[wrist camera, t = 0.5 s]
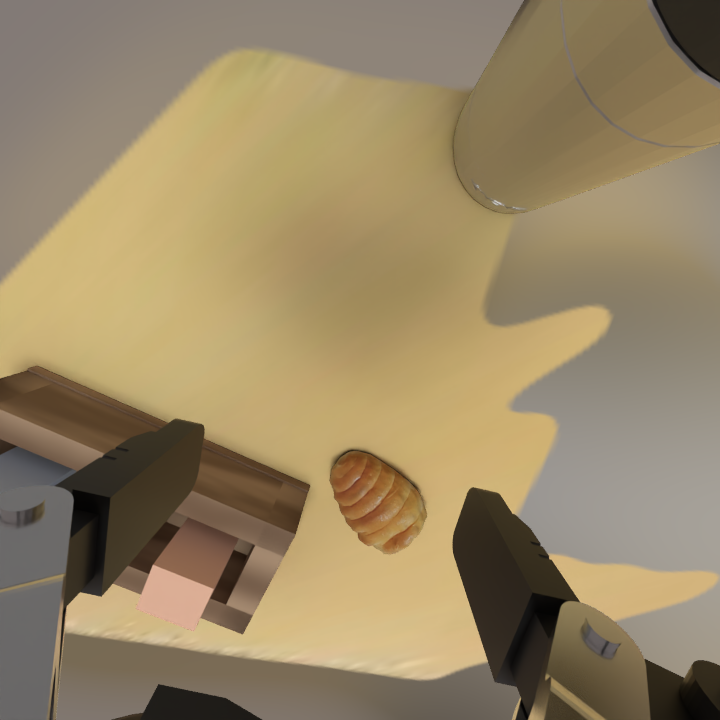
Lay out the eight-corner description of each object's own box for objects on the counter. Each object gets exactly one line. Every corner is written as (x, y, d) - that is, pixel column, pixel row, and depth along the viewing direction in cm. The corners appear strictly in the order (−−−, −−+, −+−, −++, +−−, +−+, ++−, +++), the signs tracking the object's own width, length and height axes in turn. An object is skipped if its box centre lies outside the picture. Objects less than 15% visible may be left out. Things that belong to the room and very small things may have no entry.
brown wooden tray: (36, 365, 29) (-43, 388, 24) (310, 485, 32) (296, 532, 26) (12, 473, 32) (-63, 516, 27) (263, 576, 35) (242, 635, 29)
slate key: (23, 443, 27) (-54, 482, 22) (77, 465, 27) (13, 508, 22) (13, 486, 28) (-63, 532, 23) (65, 507, 28) (2, 557, 23)
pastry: (313, 473, 31) (305, 500, 28) (369, 431, 30) (369, 453, 27) (377, 538, 33) (377, 572, 29) (432, 502, 32) (440, 532, 28)
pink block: (191, 513, 28) (153, 564, 23) (241, 534, 28) (213, 589, 23) (175, 551, 29) (135, 608, 24) (223, 571, 29) (193, 631, 24)
